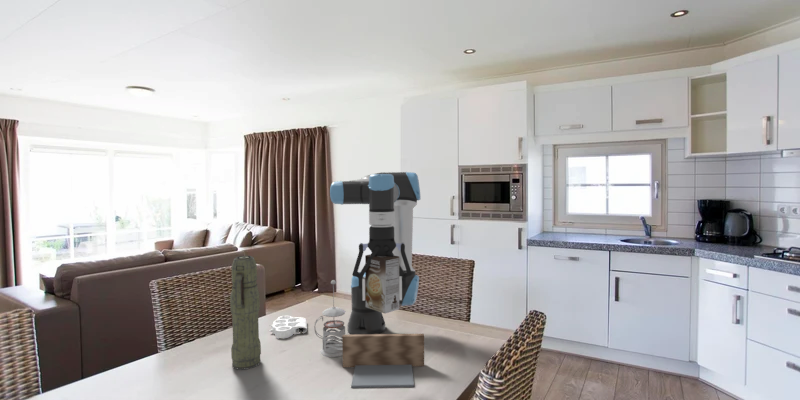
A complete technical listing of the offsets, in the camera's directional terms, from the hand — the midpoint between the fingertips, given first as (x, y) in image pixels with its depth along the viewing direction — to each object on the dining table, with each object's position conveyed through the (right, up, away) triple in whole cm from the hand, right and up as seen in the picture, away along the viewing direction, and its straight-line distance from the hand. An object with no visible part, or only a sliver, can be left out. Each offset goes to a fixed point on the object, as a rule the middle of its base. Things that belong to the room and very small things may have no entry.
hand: (382, 299), depth 121 cm
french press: (-19, -23, +20) cm, 36 cm away
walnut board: (0, -23, +8) cm, 25 cm away
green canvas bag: (-45, -24, +10) cm, 52 cm away
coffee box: (0, -3, 0) cm, 3 cm away
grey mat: (0, -24, +1) cm, 24 cm away
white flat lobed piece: (-40, -23, +40) cm, 61 cm away
